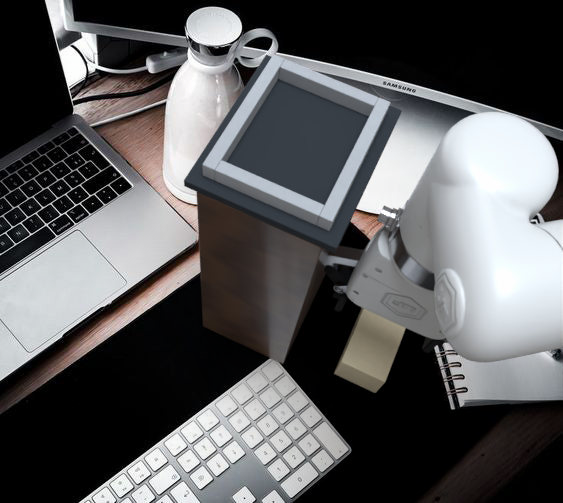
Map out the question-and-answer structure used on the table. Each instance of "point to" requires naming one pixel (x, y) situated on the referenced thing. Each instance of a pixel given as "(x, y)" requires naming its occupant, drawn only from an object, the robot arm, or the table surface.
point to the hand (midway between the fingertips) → (385, 319)
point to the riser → (255, 278)
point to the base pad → (296, 151)
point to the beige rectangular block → (370, 351)
